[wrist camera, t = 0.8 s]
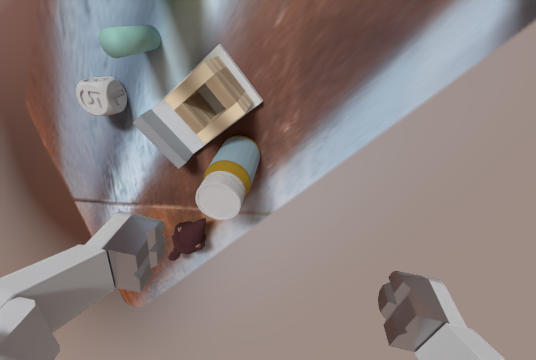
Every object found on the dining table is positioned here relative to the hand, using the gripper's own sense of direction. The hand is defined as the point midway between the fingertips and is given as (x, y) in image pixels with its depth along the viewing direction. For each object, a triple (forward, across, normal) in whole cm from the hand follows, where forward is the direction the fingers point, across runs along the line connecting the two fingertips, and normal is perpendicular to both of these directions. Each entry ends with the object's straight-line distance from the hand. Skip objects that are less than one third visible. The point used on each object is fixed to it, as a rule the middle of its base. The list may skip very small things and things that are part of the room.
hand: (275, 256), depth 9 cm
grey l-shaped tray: (+35, +14, +8) cm, 39 cm away
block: (+34, +11, +5) cm, 36 cm away
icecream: (+36, +15, +36) cm, 53 cm away
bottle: (+35, +6, +15) cm, 39 cm away
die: (+36, +30, +9) cm, 47 cm away
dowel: (+35, +22, -1) cm, 42 cm away
